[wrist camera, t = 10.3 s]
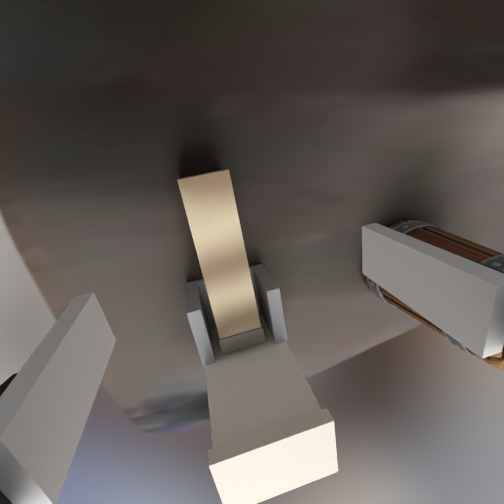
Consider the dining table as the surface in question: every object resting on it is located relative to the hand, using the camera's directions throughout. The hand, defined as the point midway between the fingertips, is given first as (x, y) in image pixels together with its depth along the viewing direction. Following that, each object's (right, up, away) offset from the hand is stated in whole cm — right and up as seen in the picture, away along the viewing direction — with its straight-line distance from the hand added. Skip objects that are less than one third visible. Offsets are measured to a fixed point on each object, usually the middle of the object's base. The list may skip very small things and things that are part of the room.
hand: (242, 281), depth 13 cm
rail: (-3, +1, +15) cm, 15 cm away
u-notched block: (-1, -6, +18) cm, 19 cm away
